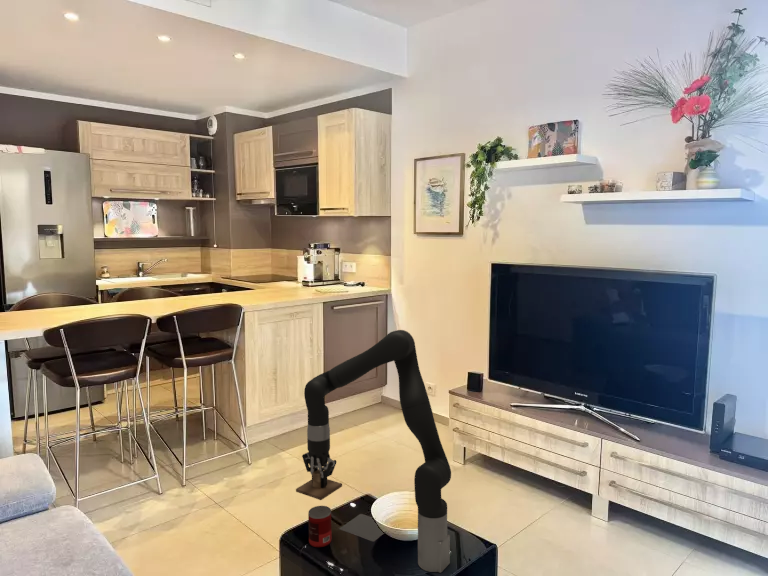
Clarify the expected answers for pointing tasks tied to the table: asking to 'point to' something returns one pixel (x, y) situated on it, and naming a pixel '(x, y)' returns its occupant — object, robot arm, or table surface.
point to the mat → (363, 528)
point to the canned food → (319, 526)
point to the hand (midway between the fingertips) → (319, 485)
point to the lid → (318, 487)
